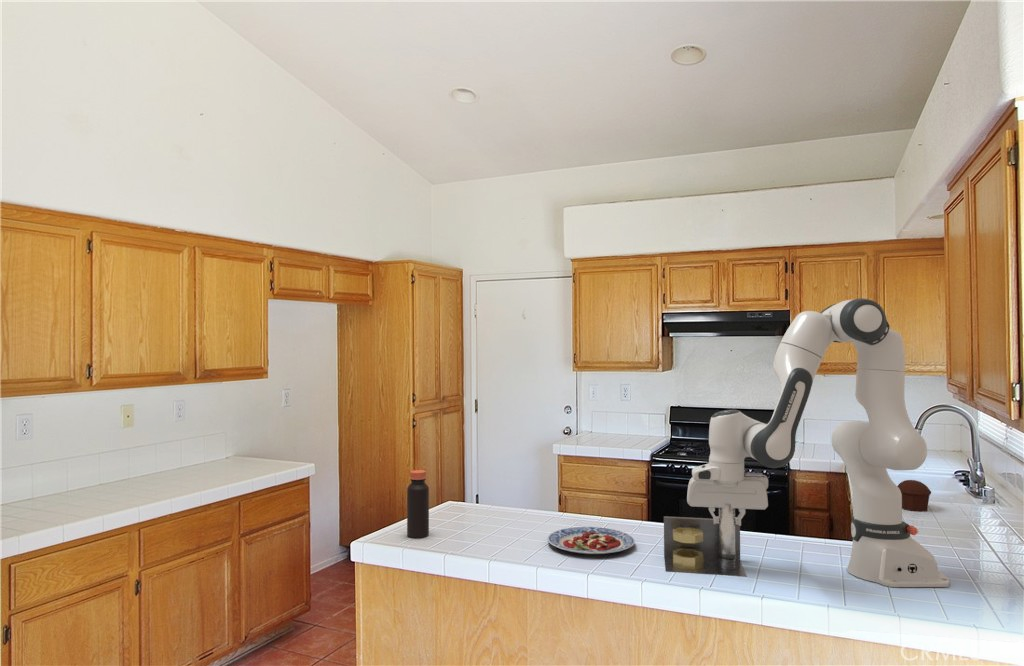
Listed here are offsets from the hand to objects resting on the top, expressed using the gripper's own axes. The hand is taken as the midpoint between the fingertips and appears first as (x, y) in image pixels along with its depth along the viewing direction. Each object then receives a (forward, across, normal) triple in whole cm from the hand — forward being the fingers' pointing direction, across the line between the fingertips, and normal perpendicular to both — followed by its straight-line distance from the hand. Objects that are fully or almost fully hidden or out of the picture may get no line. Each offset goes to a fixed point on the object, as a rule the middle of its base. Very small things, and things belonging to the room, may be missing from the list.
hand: (726, 524), depth 173 cm
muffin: (+13, -74, -81) cm, 110 cm away
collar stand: (+12, +6, 0) cm, 14 cm away
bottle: (+12, +91, -16) cm, 93 cm away
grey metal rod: (+11, 0, 0) cm, 11 cm away
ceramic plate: (+13, +37, -16) cm, 42 cm away
